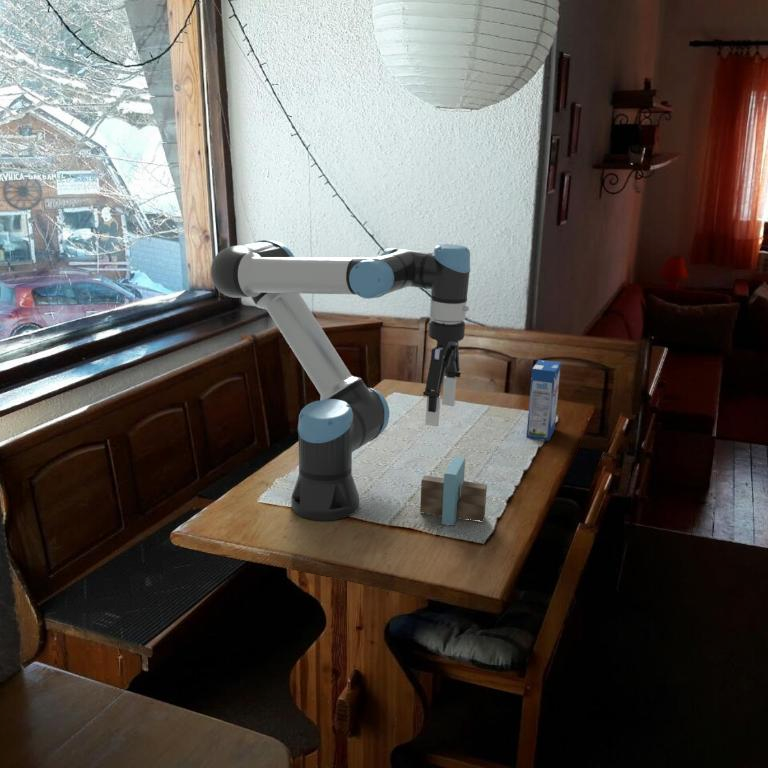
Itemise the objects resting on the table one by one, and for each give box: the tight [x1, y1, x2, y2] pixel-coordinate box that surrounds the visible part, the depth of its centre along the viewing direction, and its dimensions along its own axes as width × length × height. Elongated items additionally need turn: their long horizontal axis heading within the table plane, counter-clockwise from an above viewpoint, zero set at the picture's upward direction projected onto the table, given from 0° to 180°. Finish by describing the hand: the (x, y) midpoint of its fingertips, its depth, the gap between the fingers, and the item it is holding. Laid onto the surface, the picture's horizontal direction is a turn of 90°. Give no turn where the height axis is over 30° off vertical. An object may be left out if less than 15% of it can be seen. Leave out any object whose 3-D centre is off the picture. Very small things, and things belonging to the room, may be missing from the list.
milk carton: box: [526, 359, 562, 442], centre depth 223 cm, size 10×6×20 cm, turn 159°
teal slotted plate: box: [441, 455, 466, 525], centre depth 175 cm, size 10×2×12 cm, turn 163°
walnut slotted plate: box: [419, 475, 488, 522], centre depth 176 cm, size 14×2×8 cm, turn 73°
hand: (440, 414), depth 175 cm, fingers open, 13 cm apart
